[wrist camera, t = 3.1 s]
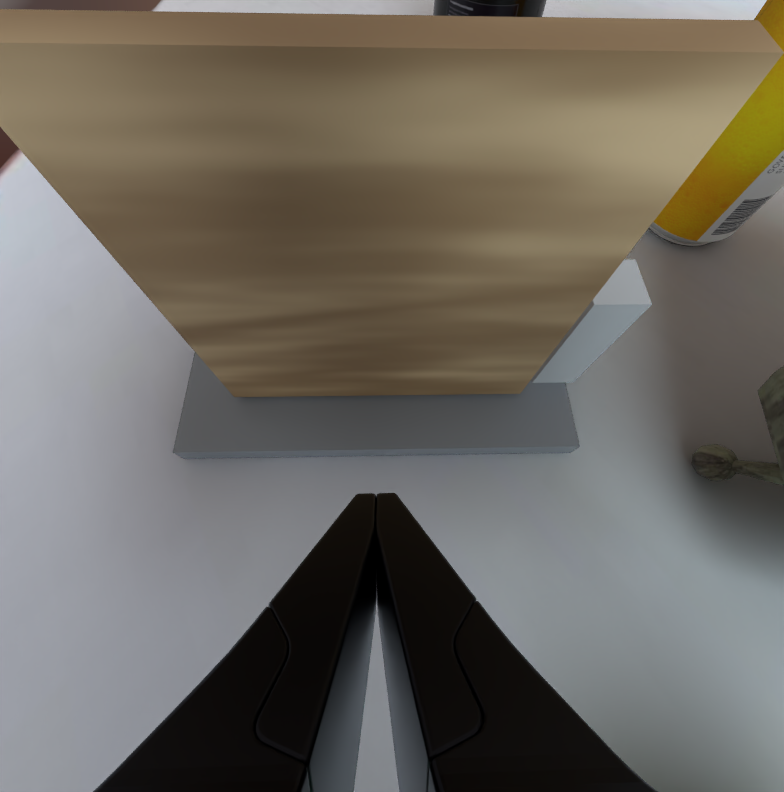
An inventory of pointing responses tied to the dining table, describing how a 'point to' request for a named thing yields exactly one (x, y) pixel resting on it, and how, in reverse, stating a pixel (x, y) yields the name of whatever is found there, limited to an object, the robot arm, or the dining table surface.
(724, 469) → the tabletop clock
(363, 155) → the door
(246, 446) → the housing stand
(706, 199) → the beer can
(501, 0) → the supplement bottle
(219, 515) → the dining table surface
